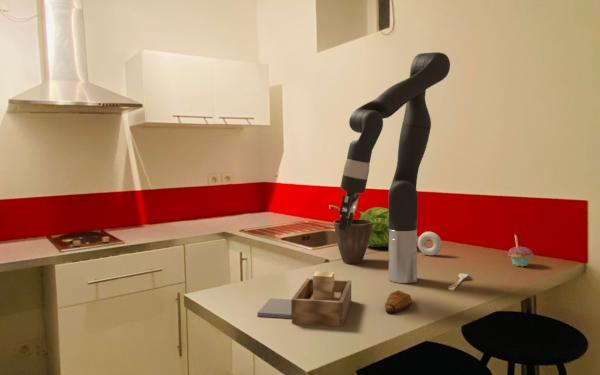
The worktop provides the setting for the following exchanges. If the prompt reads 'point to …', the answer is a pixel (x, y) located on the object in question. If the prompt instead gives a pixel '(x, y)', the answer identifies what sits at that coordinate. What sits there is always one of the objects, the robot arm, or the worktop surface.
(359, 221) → the plant pot
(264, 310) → the plate
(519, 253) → the cupcake
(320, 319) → the walnut crate
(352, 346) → the worktop surface
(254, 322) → the worktop surface
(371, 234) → the lettuce
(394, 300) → the croissant
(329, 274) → the maple block
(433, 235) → the donut
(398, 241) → the robot arm
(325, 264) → the worktop surface
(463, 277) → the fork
